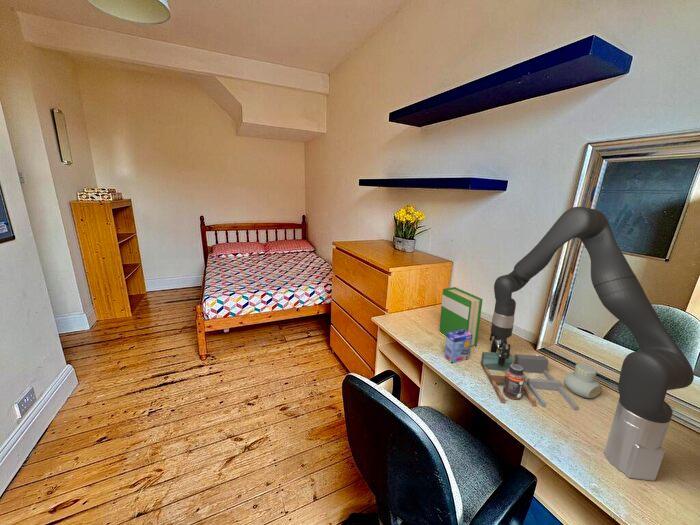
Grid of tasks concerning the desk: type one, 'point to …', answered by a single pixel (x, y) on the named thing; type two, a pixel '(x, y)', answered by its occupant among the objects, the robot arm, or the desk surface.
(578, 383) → the air freshener
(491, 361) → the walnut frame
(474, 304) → the hardback book
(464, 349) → the ink cartridge box
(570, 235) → the robot arm
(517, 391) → the supplement bottle
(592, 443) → the desk surface
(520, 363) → the charcoal frame
